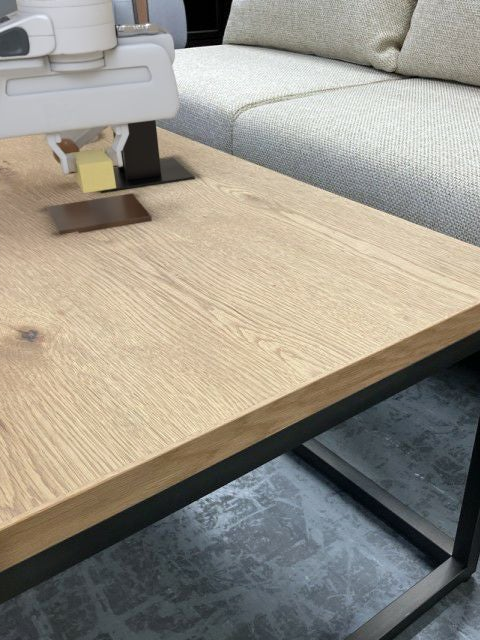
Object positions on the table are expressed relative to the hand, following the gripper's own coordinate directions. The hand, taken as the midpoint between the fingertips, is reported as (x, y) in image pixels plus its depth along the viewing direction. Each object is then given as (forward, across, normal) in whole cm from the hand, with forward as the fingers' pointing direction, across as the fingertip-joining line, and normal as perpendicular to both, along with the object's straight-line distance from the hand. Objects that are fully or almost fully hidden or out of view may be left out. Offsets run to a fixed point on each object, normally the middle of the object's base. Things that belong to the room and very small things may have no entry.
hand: (92, 169), depth 76 cm
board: (+6, 0, 0) cm, 6 cm away
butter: (+2, 0, 0) cm, 2 cm away
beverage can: (+6, -4, -33) cm, 34 cm away
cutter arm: (0, -4, -12) cm, 13 cm away
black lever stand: (+6, -8, -12) cm, 16 cm away
